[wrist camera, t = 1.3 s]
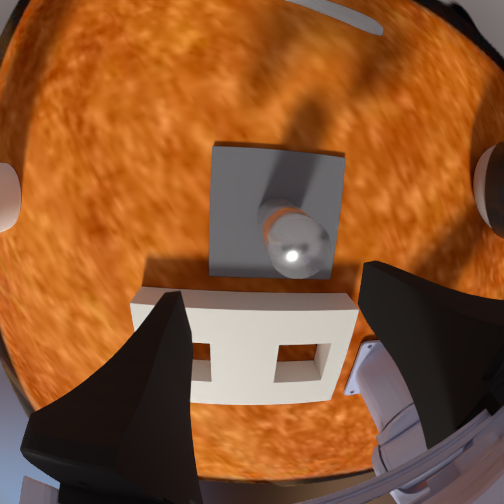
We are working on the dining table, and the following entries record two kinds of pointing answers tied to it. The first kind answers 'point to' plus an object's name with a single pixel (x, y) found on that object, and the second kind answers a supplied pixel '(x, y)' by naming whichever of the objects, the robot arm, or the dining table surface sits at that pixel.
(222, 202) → the mat
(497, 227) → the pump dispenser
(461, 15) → the dining table surface
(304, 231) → the peg
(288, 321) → the hole block
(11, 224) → the cylindrical container
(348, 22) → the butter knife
